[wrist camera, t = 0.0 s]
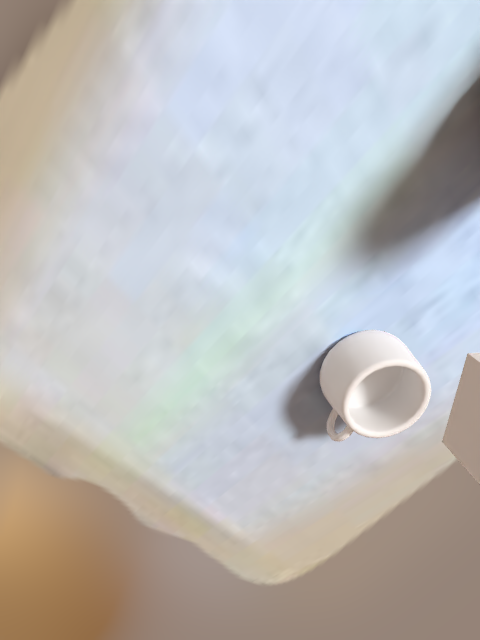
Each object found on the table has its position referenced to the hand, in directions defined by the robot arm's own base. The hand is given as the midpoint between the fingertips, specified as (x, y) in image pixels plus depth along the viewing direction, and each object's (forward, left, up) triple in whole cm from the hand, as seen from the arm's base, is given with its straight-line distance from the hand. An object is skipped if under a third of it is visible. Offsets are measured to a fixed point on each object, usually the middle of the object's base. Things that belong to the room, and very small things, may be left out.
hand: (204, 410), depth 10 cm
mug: (+17, +18, -28) cm, 37 cm away
